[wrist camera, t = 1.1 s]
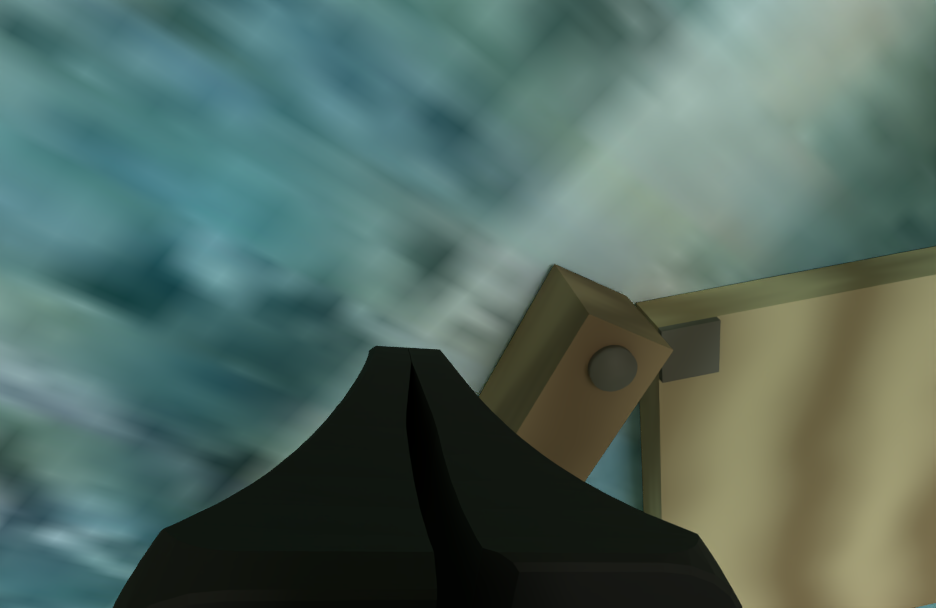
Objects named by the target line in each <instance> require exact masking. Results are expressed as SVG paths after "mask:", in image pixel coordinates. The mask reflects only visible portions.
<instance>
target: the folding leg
mask: <svg viewBox="0 0 936 608" xmlns="http://www.w3.org/2000/svg"><path fill="white" fill-rule="evenodd" d="M672 352H673V349H672V348H671V347H670V346H669V344H668V343H667V342H666V341H665V340H664V339H663V338H662V336H661V335H660V334H659V333H658V332H657V331H656V330H655V328H654V327H653V326H652V325H651V324H650V323H649V321H648V320H647V319H646V318H645V317H644V316H643V315H642V313H641V312H640V311H639V310H638V309H637V308H636V307H635V305H634V304H633V303H632V302H631V301H630V300H629V299H628V297H627V296H625V295H623V294H621V293H618V292H616V291H614V290H612V289H609V288H607V287H605V286H603V285H600V284H598V283H596V282H594V281H592V280H589V279H587V278H585V277H583V276H580V275H578V274H576V273H574V272H571V271H569V270H567V269H565V268H563V267H560V266H558V265H556V264H554V265H553V267H552V269H551V271H550V272H549V274H548V276H547V278H546V279H545V281H544V283H543V285H542V286H541V288H540V290H539V292H538V293H537V295H536V297H535V299H534V300H533V302H532V304H531V306H530V308H529V309H528V311H527V313H526V315H525V316H524V318H523V320H522V322H521V323H520V325H519V327H518V329H517V330H516V332H515V334H514V336H513V337H512V339H511V341H510V343H509V344H508V346H507V348H506V350H505V351H504V353H503V355H502V357H501V358H500V360H499V362H498V364H497V365H496V367H495V369H494V371H493V372H492V374H491V376H490V378H489V379H488V381H487V383H486V385H485V386H484V388H483V390H482V392H481V394H480V395H479V398H480V399H481V400H482V401H483V402H484V403H485V404H486V405H487V406H488V407H489V409H490V410H491V411H492V412H493V413H494V414H496V415H497V416H498V417H499V418H500V419H501V420H502V421H503V422H504V423H505V424H506V425H507V426H508V427H509V428H510V429H511V430H513V431H514V432H515V433H516V434H517V435H518V436H520V437H521V438H522V439H523V440H525V441H526V442H527V443H528V444H530V445H531V446H532V447H534V448H535V449H536V450H537V451H539V452H540V453H541V454H543V455H544V456H545V457H547V458H548V459H550V460H551V461H553V462H554V463H555V464H557V465H558V466H560V467H562V468H563V469H565V470H566V471H568V472H570V473H571V474H573V475H574V476H576V477H577V478H579V479H581V480H582V481H584V482H585V480H586V479H587V478H588V476H589V475H590V473H591V472H592V470H593V469H594V467H595V466H596V464H597V463H598V461H599V460H600V458H601V457H602V455H603V454H604V452H605V451H606V449H607V448H608V446H609V445H610V443H611V442H612V440H613V439H614V438H615V436H616V435H617V433H618V432H619V430H620V429H621V427H622V426H623V424H624V423H625V421H626V420H627V418H628V417H629V415H630V414H631V412H632V411H633V409H634V408H635V406H636V405H637V403H638V402H639V401H640V399H641V398H642V396H643V395H644V393H645V392H646V390H647V389H648V387H649V386H650V384H651V383H652V381H653V380H654V378H655V377H656V375H657V374H658V372H659V371H660V369H661V368H662V366H663V365H664V363H665V362H666V361H667V359H668V358H669V356H670V355H671V353H672Z"/></svg>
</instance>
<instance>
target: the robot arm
mask: <svg viewBox="0 0 936 608" xmlns="http://www.w3.org/2000/svg"><path fill="white" fill-rule="evenodd" d="M113 608H742V605H741V603H740V601H739V599H738V598H737V596H736V594H735V592H734V590H733V589H732V587H731V585H730V583H729V582H728V580H727V578H726V577H725V575H724V573H723V571H722V570H721V568H720V566H719V565H718V563H717V561H716V560H715V558H714V557H713V555H712V554H711V552H710V551H709V549H708V548H707V546H706V545H705V543H704V542H703V541H702V539H701V538H700V537H699V535H698V534H697V533H694V532H692V531H689V530H687V529H684V528H682V527H679V526H677V525H674V524H672V523H669V522H667V521H664V520H662V519H660V518H657V517H655V516H652V515H650V514H647V513H645V512H642V511H640V510H638V509H636V508H634V507H632V506H630V505H628V504H626V503H624V502H622V501H619V500H617V499H615V498H613V497H611V496H609V495H607V494H605V493H604V492H602V491H600V490H598V489H596V488H595V487H593V486H591V485H589V484H587V483H586V482H584V481H582V480H581V479H579V478H577V477H576V476H574V475H573V474H571V473H570V472H568V471H566V470H565V469H563V468H562V467H560V466H558V465H557V464H555V463H554V462H553V461H551V460H550V459H548V458H547V457H545V456H544V455H543V454H541V453H540V452H539V451H537V450H536V449H535V448H534V447H532V446H531V445H530V444H528V443H527V442H526V441H525V440H523V439H522V438H521V437H520V436H518V435H517V434H516V433H515V432H514V431H513V430H511V429H510V428H509V427H508V426H507V425H506V424H505V423H504V422H503V421H502V420H501V419H500V418H499V417H498V416H497V415H496V414H494V413H493V412H492V411H491V410H490V409H489V407H488V406H487V405H486V404H485V403H484V402H483V401H482V400H481V399H480V398H479V397H478V396H477V394H476V393H475V392H474V391H473V390H472V389H471V388H470V386H469V385H468V384H467V383H466V382H465V380H464V379H463V378H462V377H461V375H460V374H459V373H458V372H457V370H456V369H455V368H454V367H453V365H452V364H451V363H450V361H449V360H448V359H447V358H446V356H445V355H444V354H443V353H442V352H441V350H437V349H420V348H403V347H386V346H375V347H374V348H372V349H371V350H370V351H369V354H368V358H367V360H366V363H365V365H364V367H363V369H362V370H361V372H360V374H359V376H358V378H357V379H356V381H355V382H354V384H353V385H352V387H351V388H350V390H349V391H348V393H347V394H346V396H345V397H344V398H343V400H342V401H341V402H340V403H339V405H338V406H337V407H336V408H335V410H334V411H333V412H332V413H331V415H330V416H329V417H328V418H327V419H326V421H325V422H324V423H323V424H322V425H321V426H320V427H319V428H318V429H317V430H316V431H315V433H314V434H313V435H312V436H311V437H310V438H308V439H307V440H306V441H305V442H304V443H303V444H302V445H301V446H300V447H299V448H298V449H297V450H296V451H294V452H293V453H292V454H291V455H290V456H288V457H287V458H286V459H285V460H284V461H282V462H281V463H280V464H279V465H278V466H276V467H275V468H274V469H272V470H271V471H270V472H268V473H267V474H266V475H264V476H263V477H262V478H260V479H258V480H257V481H255V482H254V483H252V484H251V485H249V486H248V487H246V488H244V489H242V490H241V491H239V492H237V493H236V494H234V495H232V496H231V497H229V498H227V499H225V500H223V501H221V502H220V503H218V504H216V505H214V506H212V507H210V508H207V509H205V510H203V511H201V512H199V513H197V514H195V515H193V516H191V517H189V518H186V519H184V520H182V521H180V522H178V523H176V524H174V525H171V526H169V527H167V528H164V529H163V530H162V531H161V532H160V533H159V534H158V536H157V537H156V539H155V540H154V541H153V543H152V544H151V546H150V547H149V549H148V550H147V552H146V553H145V555H144V556H143V558H142V559H141V560H140V562H139V564H138V565H137V567H136V569H135V570H134V572H133V573H132V575H131V576H130V578H129V579H128V581H127V583H126V584H125V586H124V588H123V589H122V591H121V593H120V595H119V597H118V598H117V600H116V602H115V604H114V606H113Z"/></svg>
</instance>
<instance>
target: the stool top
mask: <svg viewBox="0 0 936 608" xmlns="http://www.w3.org/2000/svg"><path fill="white" fill-rule="evenodd" d="M636 308H637V309H638V310H639V311H640V312H641V313H642V315H643V316H644V317H645V318H646V319H647V320H648V321H649V323H650V324H651V325H652V326H653V327H654V328H655V330H656V331H657V332H658V333H659V334H660V335H661V336H662V338H663V339H664V340H665V341H666V342H667V343H668V344H669V346H670V347H671V348H672V349H673V352H672V353H671V355H670V356H669V358H668V359H667V361H666V362H665V363H664V365H663V366H662V368H661V369H660V371H659V372H658V374H657V375H656V377H655V378H654V380H653V381H652V383H651V384H650V386H649V387H648V389H647V390H646V392H645V393H644V395H643V396H642V398H641V399H640V424H641V453H642V481H643V509H644V512H645V513H647V514H650V515H652V516H655V517H657V518H660V519H662V520H664V521H667V522H669V523H672V524H674V525H677V526H679V527H682V528H684V529H687V530H689V531H692V532H694V533H697V534H698V535H699V537H700V538H701V539H702V541H703V542H704V543H705V545H706V546H707V548H708V549H709V551H710V552H711V554H712V555H713V557H714V558H715V560H716V561H717V563H718V565H719V566H720V568H721V570H722V571H723V573H724V575H725V577H726V578H727V580H728V582H729V583H730V585H731V587H732V589H733V590H734V592H735V594H736V596H737V598H738V599H739V601H740V603H741V605H742V608H915V607H919V606H923V605H928V604H933V603H936V246H935V247H929V248H924V249H919V250H913V251H908V252H903V253H898V254H892V255H887V256H882V257H876V258H871V259H866V260H860V261H855V262H850V263H845V264H839V265H834V266H829V267H823V268H818V269H813V270H807V271H802V272H797V273H792V274H786V275H781V276H776V277H770V278H765V279H760V280H755V281H749V282H744V283H739V284H733V285H728V286H723V287H717V288H712V289H707V290H702V291H696V292H691V293H686V294H680V295H675V296H670V297H664V298H659V299H654V300H649V301H643V302H638V303H636Z"/></svg>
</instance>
